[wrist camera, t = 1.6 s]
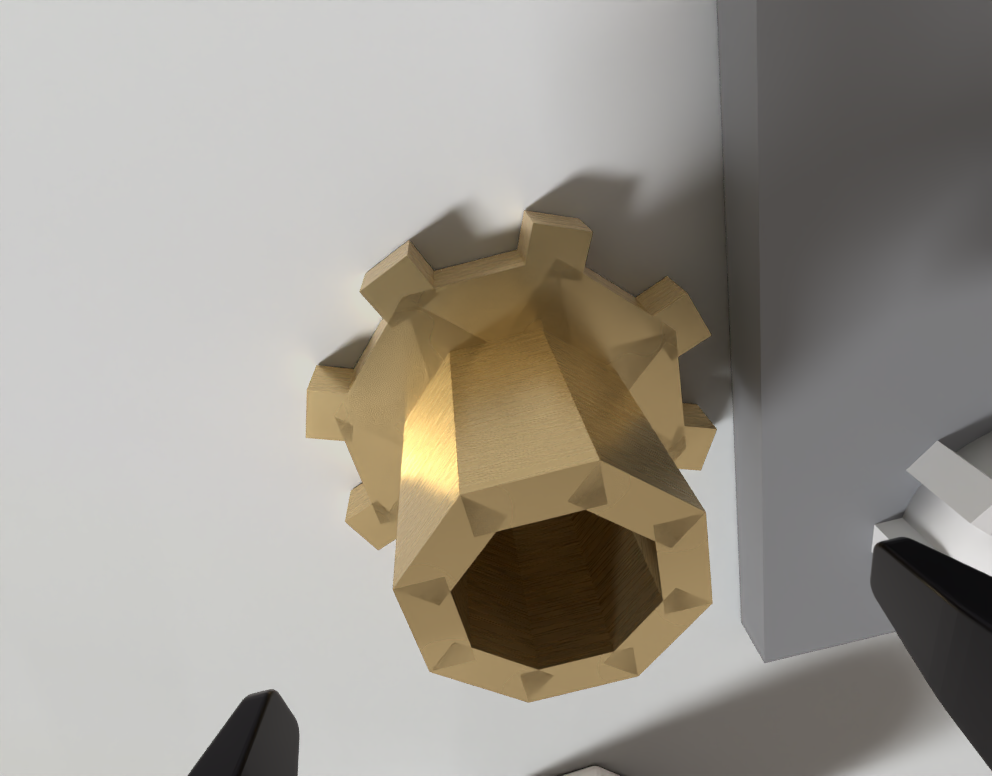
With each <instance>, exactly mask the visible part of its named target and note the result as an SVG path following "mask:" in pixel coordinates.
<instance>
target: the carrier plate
mask: <svg viewBox="0 0 992 776" xmlns="http://www.w3.org/2000/svg"><path fill="white" fill-rule="evenodd" d="M717 19H718V44H719V69H720V94H721V120H722V145H723V170H724V195H725V221H726V246H727V271H728V296H729V322H730V347H731V372H732V397H733V423H734V448H735V473H736V498H737V524H738V549H739V574H740V599H741V623H742V625H743V626H744V628H745V630H746V632H747V633H748V635H749V637H750V639H751V640H752V642H753V644H754V646H755V647H756V649H757V651H758V653H759V654H760V656H761V658H762V660H763V661H764V663H767V662H771V661H776V660H780V659H784V658H788V657H792V656H796V655H800V654H805V653H809V652H813V651H817V650H821V649H825V648H830V647H834V646H838V645H842V644H846V643H850V642H855V641H859V640H863V639H867V638H871V637H875V636H880V635H884V634H888V633H892V632H896V631H895V629H894V628H893V626H892V625H891V623H890V621H889V620H888V618H887V617H886V615H885V613H884V612H883V610H882V608H881V607H880V605H879V604H878V602H877V600H876V599H875V597H874V595H873V592H872V590H871V586H870V574H871V565H872V556H873V548H874V546H875V545H876V544H877V543H878V542H880V541H884V540H888V539H893V538H897V537H907V538H911V539H913V540H915V541H918V542H920V543H922V544H924V545H926V546H928V547H930V548H932V549H935V550H937V551H939V552H941V553H943V554H945V555H947V556H950V557H952V558H954V559H956V560H958V561H960V562H962V563H964V564H967V565H969V566H971V567H973V568H975V569H977V570H979V571H981V572H984V573H986V574H988V575H990V576H992V0H717Z"/></svg>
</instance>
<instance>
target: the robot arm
mask: <svg viewBox="0 0 992 776" xmlns="http://www.w3.org/2000/svg"><path fill="white" fill-rule="evenodd" d="M870 586H871V590H872V592H873V595H874V597H875V599H876V600H877V602H878V604H879V605H880V607H881V608H882V610H883V612H884V613H885V615H886V617H887V618H888V620H889V621H890V623H891V625H892V626H893V628H894V629H895V631H896V633H897V634H898V636H899V638H900V639H901V641H902V642H903V644H904V646H905V647H906V649H907V651H908V652H909V654H910V655H911V657H912V659H913V660H914V662H915V663H916V665H917V667H918V668H919V670H920V672H921V673H922V675H923V676H924V678H925V680H926V681H927V683H928V684H929V686H930V687H931V689H932V690H933V692H934V694H935V695H936V697H937V698H938V700H939V701H940V702H941V704H942V705H943V707H944V708H945V709H946V711H947V712H948V713H949V715H950V716H951V718H952V719H953V720H954V722H955V723H956V724H957V726H958V727H959V728H960V730H961V731H962V732H963V733H964V735H965V736H966V737H967V739H968V740H969V741H970V743H971V744H972V745H973V747H974V748H975V749H976V751H977V752H978V753H979V755H980V756H981V757H982V759H983V760H984V761H985V763H986V764H987V765H988V767H989V768H990V769H991V770H992V576H990V575H988V574H986V573H984V572H981V571H979V570H977V569H975V568H973V567H971V566H969V565H967V564H964V563H962V562H960V561H958V560H956V559H954V558H952V557H950V556H947V555H945V554H943V553H941V552H939V551H937V550H935V549H932V548H930V547H928V546H926V545H924V544H922V543H920V542H918V541H915V540H913V539H911V538H907V537H897V538H893V539H888V540H884V541H880V542H878V543H877V544H876V545H875V546H874V548H873V556H872V565H871V574H870ZM298 755H299V727H298V723H297V720H296V718H295V717H294V715H293V714H292V712H291V711H290V709H289V708H288V706H287V705H286V703H285V702H284V700H283V699H282V697H281V696H280V694H279V693H278V692H277V691H275V690H273V689H269V690H265V691H261V692H257V693H253V694H250V695H248V696H247V697H245V698H244V699H243V700H242V702H241V703H240V704H239V706H238V707H237V708H236V710H235V711H234V712H233V714H232V715H231V717H230V718H229V719H228V721H227V722H226V723H225V725H224V726H223V728H222V729H221V730H220V732H219V733H218V734H217V736H216V737H215V739H214V740H213V741H212V743H211V744H210V745H209V747H208V748H207V750H206V751H205V752H204V754H203V755H202V756H201V758H200V759H199V761H198V762H197V763H196V765H195V766H194V767H193V769H192V770H191V772H190V773H189V774H188V776H298Z"/></svg>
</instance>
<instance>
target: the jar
mask: <svg viewBox="0 0 992 776" xmlns="http://www.w3.org/2000/svg"><path fill="white" fill-rule="evenodd" d="M562 776H620V775H617V774H615V773H613V772H610V771H608V770H606V769H603V768H601V767H599V766H591V767H588V768H584V769H581V770H578V771H575V772H572V773H568V774H565V775H562Z"/></svg>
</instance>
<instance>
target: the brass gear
mask: <svg viewBox="0 0 992 776" xmlns="http://www.w3.org/2000/svg"><path fill="white" fill-rule="evenodd" d="M592 234H593V231H592V230H590V229H589V228H588V227H587V226H586V225H585V224H584V223H583V222H582V221H581V220H580V219H578V218H571V217H565V216H558V215H552V214H545V213H539V212H532V211H526V210H524V214H523V219H522V225H521V230H520V236H519V241H518V247H517V250H513V251H510V252H506V253H502V254H498V255H494V256H490V257H486V258H482V259H478V260H475V261H471V262H467V263H463V264H459V265H455V266H451V267H447V268H443V269H440V270H436V271H434V270H433V269H432V268H431V267H430V265H429V264H428V263H427V262H426V260H425V259H424V258H423V257H422V255H421V254H420V253H419V252H418V250H417V249H416V248H415V247H414V245H413V244H412V243H411V242H410V240H408V241H407V242H406V243H405V244H403V245H402V246H401V247H399V248H398V249H397V250H395V251H394V252H393V253H392V254H390V255H389V256H388V257H386V258H385V259H384V260H383V261H381V262H380V263H379V264H377V265H376V266H375V267H373V268H372V269H371V270H370V271H368V272H367V273H366V274H365V276H364V280H363V283H362V286H361V289H360V293H361V294H362V295H363V296H364V297H365V299H366V300H367V301H368V302H369V303H370V304H371V305H372V306H373V308H374V309H375V310H376V311H377V312H378V313H379V314H380V315H381V317H382V320H381V322H380V324H379V325H378V327H377V329H376V331H375V332H374V334H373V336H372V338H371V339H370V341H369V343H368V345H367V347H366V348H365V350H364V352H363V354H362V355H361V357H360V359H359V361H358V363H357V364H356V366H355V368H354V369H348V368H338V367H328V366H318V365H316V368H315V371H314V373H313V376H312V378H311V381H310V383H309V386H308V388H307V409H306V438H315V439H327V440H339V441H345V443H346V445H347V448H348V450H349V452H350V455H351V457H352V459H353V462H354V464H355V466H356V469H357V471H358V473H359V475H360V478H361V480H362V482H363V483H362V484H360V485H359V486H357V487H356V488H354V489H353V490H351V493H350V498H349V503H348V509H347V514H346V519H345V522H346V523H347V524H348V525H349V526H351V527H352V528H353V529H354V530H355V531H356V532H358V533H359V534H360V535H361V536H362V537H363V538H364V539H366V540H367V541H368V542H369V543H370V544H371V545H373V546H374V547H375V548H376V549H377V550H380V549H381V548H383V547H384V546H386V545H387V544H389V543H390V542H392V541H394V540H395V539H396V551H395V565H394V579H393V591H394V593H395V596H396V598H397V600H398V602H399V605H400V607H401V609H402V611H403V613H404V616H405V618H406V620H407V622H408V625H409V627H410V629H411V631H412V634H413V636H414V638H415V640H416V643H417V645H418V647H419V649H420V651H421V654H422V656H423V658H424V660H425V663H426V665H427V667H428V669H429V672H432V673H435V674H438V675H442V676H445V677H448V678H451V679H454V680H458V681H461V682H464V683H467V684H471V685H474V686H477V687H480V688H483V689H487V690H490V691H493V692H496V693H500V694H503V695H506V696H509V697H512V698H516V699H519V700H522V701H525V702H533V701H537V700H541V699H546V698H550V697H554V696H558V695H562V694H566V693H571V692H575V691H579V690H583V689H587V688H591V687H595V686H600V685H604V684H608V683H612V682H616V681H620V680H624V679H629V678H633V677H637V676H639V675H640V674H641V673H642V672H643V671H644V670H645V669H646V668H647V667H648V666H649V665H650V664H651V663H652V662H653V661H654V660H655V659H656V658H657V657H658V656H659V655H660V654H661V653H662V652H663V651H664V650H665V649H666V648H667V647H668V646H670V645H671V644H672V643H673V642H674V641H675V640H676V639H677V638H678V637H679V636H680V635H681V634H682V633H683V632H684V631H685V630H686V629H687V628H688V627H689V626H690V625H691V624H692V623H693V622H694V621H695V620H696V619H697V618H698V617H699V616H700V615H701V614H702V613H703V612H704V611H705V610H706V609H707V608H708V607H709V606H710V605H711V604H712V589H711V575H710V562H709V548H708V534H707V521H706V512H705V510H704V509H703V507H702V505H701V504H700V502H699V501H698V499H697V498H696V496H695V494H694V493H693V491H692V490H691V488H690V487H689V485H688V483H687V482H686V480H685V479H684V477H683V475H682V474H681V472H680V471H679V469H689V470H701V469H702V466H703V464H704V461H705V459H706V456H707V453H708V451H709V448H710V446H711V443H712V441H713V438H714V436H715V433H716V430H717V429H716V427H715V426H714V425H713V424H712V422H711V421H710V420H709V419H708V417H707V416H706V415H705V414H704V413H703V411H702V410H701V409H700V408H699V406H698V405H697V404H689V403H682V395H681V383H680V372H679V361H678V357H679V356H681V355H682V354H684V353H685V352H687V351H688V350H690V349H691V348H693V347H695V346H696V345H698V344H699V343H701V342H702V341H704V340H705V339H707V338H709V337H710V336H712V335H711V333H710V332H709V330H708V328H707V326H706V325H705V323H704V321H703V319H702V318H701V316H700V314H699V312H698V311H697V309H696V307H695V305H694V304H693V302H692V300H691V298H690V297H689V295H688V293H687V292H685V291H684V290H683V289H682V288H681V287H679V286H678V285H677V284H676V283H675V282H674V281H672V280H671V279H670V278H669V277H668V276H666V277H665V278H663V279H662V280H661V281H659V282H658V283H656V284H655V285H653V286H652V287H650V288H649V289H647V290H646V291H644V292H643V293H641V294H640V295H638V296H637V297H634V296H632V295H630V294H629V293H627V292H626V291H624V290H622V289H621V288H619V287H618V286H616V285H614V284H613V283H611V282H610V281H608V280H606V279H605V278H603V277H602V276H600V275H598V274H597V273H595V272H593V271H592V270H590V269H589V268H587V267H585V263H586V259H587V255H588V250H589V246H590V242H591V238H592Z"/></svg>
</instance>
